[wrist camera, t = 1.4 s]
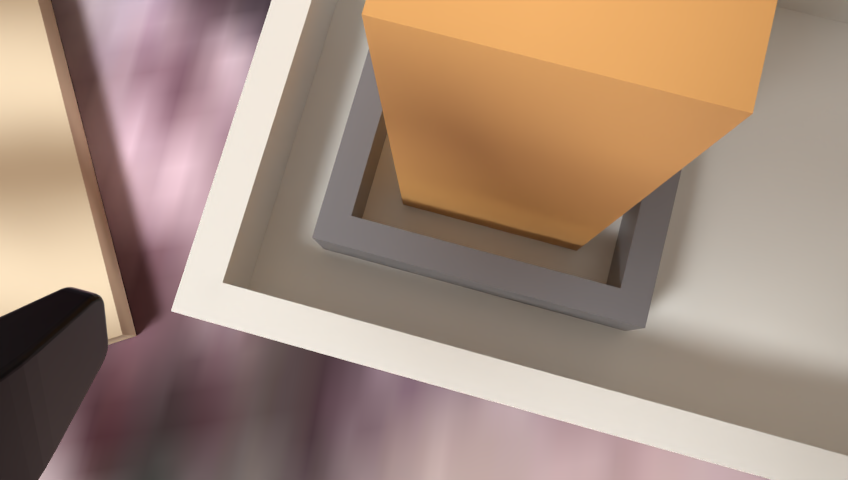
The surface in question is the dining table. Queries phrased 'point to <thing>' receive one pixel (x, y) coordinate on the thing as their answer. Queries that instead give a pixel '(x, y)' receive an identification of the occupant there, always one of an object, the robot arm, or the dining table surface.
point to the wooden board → (49, 176)
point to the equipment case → (553, 259)
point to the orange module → (558, 102)
